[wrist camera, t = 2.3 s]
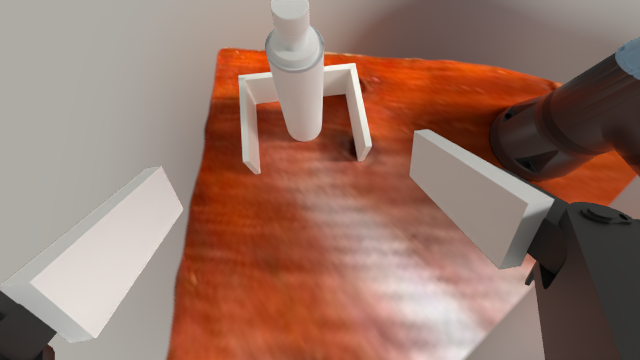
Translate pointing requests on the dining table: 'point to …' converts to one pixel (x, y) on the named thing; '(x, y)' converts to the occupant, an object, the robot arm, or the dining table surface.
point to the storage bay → (264, 91)
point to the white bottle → (297, 67)
